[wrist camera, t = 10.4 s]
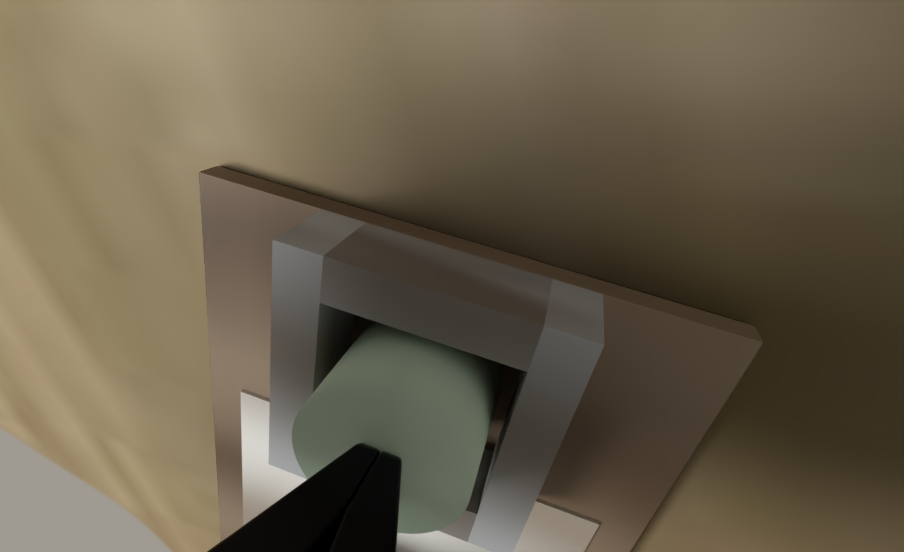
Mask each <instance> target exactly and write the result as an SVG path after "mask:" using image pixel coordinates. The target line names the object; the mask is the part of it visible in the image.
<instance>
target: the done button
mask: <svg viewBox="0 0 904 552" xmlns="http://www.w3.org/2000/svg"><path fill="white" fill-rule="evenodd" d="M500 388H501V375H500V369H499V365H498V362H495V361H492V360H489V359H486V358H483V357H480V356H477V355H474V354H471V353H468V352H465V351H462V350H459V349H456V348H453V347H450V346H447V345H444V344H441V343H438V342H435V341H432V340H429V339H426V338H423V337H420V336H417V335H414V334H411V333H408V332H405V331H402V330H399V329H396V328H393V327H390V326H387V325H384V324H381V323H378V322H375V321H371V322H370V323H369V325H368V326H367V327H366V328H365V329H364V331H363V332H362V333H361V334H360V336H359V337H358V338H357V339H356V341H355V342H354V343H353V344H352V345H351V347H350V348H349V349H348V350H347V352H346V353H345V354H344V355H343V357H342V358H341V359H340V360H339V362H338V363H337V364H336V365H335V367H334V368H333V369H332V370H331V371H330V373H329V374H328V375H327V376H326V378H325V379H324V380H323V381H322V383H321V384H320V385H319V386H318V388H317V389H316V390H315V391H314V393H313V394H312V395H311V396H310V398H309V399H308V400H307V401H306V402H305V404H304V405H303V406H302V407H301V409H300V410H299V412H298V413H297V415H296V417H295V420H294V423H293V427H292V445H293V450H294V454H295V457H296V460H297V462H298V464H299V466H300V468H301V470H302V471H303V473H304V475H305V476H306V478H307V479H309V478H310V477H311V476H313V475H314V474H315V473H317V472H318V471H320V470H321V469H322V468H324V467H325V466H327V465H328V464H329V463H331V462H332V461H333V460H335V459H336V458H338V457H339V456H340V455H342V454H343V453H345V452H346V451H347V450H349V449H350V448H351V447H353V446H354V445H356V444H358V443H363V444H366V445H368V446H371V447H374V448H377V449H378V450H379V452H380V453H381V452H387V453H390V454H393V455H395V456H398V457H400V458H401V459H402V472H401V487H400V502H399V517H398V532H397V533H404V534H422V533H429V532H433V531H437V530H440V529H442V528H444V527H447V526H449V525H450V524H452V523H453V522H455V521H456V520H457V519H458V518H459V517H460V516H461V515H462V514H463V512H464V511H465V510H466V508H467V506H468V504H469V501H470V498H471V494H472V491H473V487H474V484H475V480H476V476H477V473H478V469H479V465H480V462H481V458H482V455H483V451H484V447H485V444H486V440H487V437H488V433H489V429H490V426H491V422H492V418H493V415H494V411H495V408H496V404H497V400H498V397H499V393H500Z"/></svg>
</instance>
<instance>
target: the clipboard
mask: <svg viewBox="0 0 904 552" xmlns="http://www.w3.org/2000/svg"><path fill="white" fill-rule="evenodd" d="M199 181H200V197H201V214H202V231H203V247H204V264H205V281H206V297H207V314H208V331H209V347H210V364H211V381H212V397H213V414H214V431H215V447H216V464H217V481H218V498H219V514H220V531H221V541H223V540H224V539H226V538H227V537H228V536H230V535H231V534H232V533H234V532H235V531H237V530H238V529H239V528H241V527H242V526H244V525H245V524H246V523H248V522H249V521H250V520H252V519H253V518H255V517H256V516H257V515H259V514H260V513H262V512H263V511H264V510H266V509H267V508H268V507H270V506H271V505H273V504H274V503H275V502H277V501H278V500H279V499H281V498H282V497H284V496H285V495H286V494H288V493H289V492H291V491H292V490H293V489H295V488H296V487H297V486H299V485H300V484H302V483H303V482H304V481H306V480H307V478H306V476H305V475H304V473H303V471H302V470H301V468H300V466H299V464H298V462H297V460H296V457H295V454H294V450H293V445H292V427H293V423H294V420H295V417H296V415H297V413H298V412H299V410H300V409H301V407H302V406H303V405H304V404H305V402H306V401H307V400H308V399H309V398H310V396H311V395H312V394H313V393H314V391H315V390H316V389H317V388H318V386H319V385H320V384H321V383H322V381H323V380H324V379H325V378H326V376H327V375H328V374H329V373H330V371H331V370H332V369H333V368H334V367H335V365H336V364H337V363H338V362H339V360H340V359H341V358H342V357H343V355H344V354H345V353H346V352H347V350H348V349H349V348H350V347H351V345H352V344H353V343H354V342H355V341H356V339H357V338H358V337H359V336H360V334H361V333H362V332H363V331H364V329H365V328H366V327H367V326H368V325H369V323H370V322H371V321H375V322H378V323H381V324H384V325H387V326H390V327H393V328H396V329H399V330H402V331H405V332H408V333H411V334H414V335H417V336H420V337H423V338H426V339H429V340H432V341H435V342H438V343H441V344H444V345H447V346H450V347H453V348H456V349H459V350H462V351H465V352H468V353H471V354H474V355H477V356H480V357H483V358H486V359H489V360H492V361H495V362H498V365H499V369H500V375H501V388H500V393H499V397H498V400H497V404H496V408H495V411H494V415H493V418H492V422H491V426H490V429H489V433H488V437H487V440H486V444H485V447H484V451H483V455H482V458H481V462H480V465H479V469H478V473H477V476H476V480H475V484H474V487H473V491H472V494H471V498H470V501H469V504H468V506H467V508H466V510H465V511H464V512H463V514H462V515H461V516H460V517H459V518H458V519H457V520H456V521H455V522H453V523H452V524H450V525H449V526H447V527H444V528H442V529H440V530H437V531H433V532H429V533H422V534H404V533H397V547H396V552H630V551H631V549H632V548H633V546H634V545H635V543H636V541H637V540H638V538H639V537H640V535H641V534H642V532H643V530H644V529H645V527H646V526H647V524H648V523H649V521H650V520H651V518H652V516H653V515H654V513H655V512H656V510H657V509H658V507H659V505H660V504H661V502H662V501H663V499H664V498H665V496H666V495H667V493H668V491H669V490H670V488H671V487H672V485H673V484H674V482H675V480H676V479H677V477H678V476H679V474H680V473H681V471H682V470H683V468H684V466H685V465H686V463H687V462H688V460H689V459H690V457H691V455H692V454H693V452H694V451H695V449H696V448H697V446H698V444H699V443H700V441H701V440H702V438H703V437H704V435H705V434H706V432H707V430H708V429H709V427H710V426H711V424H712V423H713V421H714V419H715V418H716V416H717V415H718V413H719V412H720V410H721V409H722V407H723V405H724V404H725V402H726V401H727V399H728V398H729V396H730V394H731V393H732V391H733V390H734V388H735V387H736V385H737V384H738V382H739V380H740V379H741V377H742V376H743V374H744V373H745V371H746V369H747V368H748V366H749V365H750V363H751V362H752V360H753V358H754V357H755V355H756V354H757V352H758V351H759V349H760V348H761V346H762V344H763V343H764V342H763V341H762V339H761V337H760V335H759V333H758V332H757V330H756V328H755V326H753V325H750V324H746V323H743V322H739V321H736V320H733V319H729V318H726V317H723V316H719V315H716V314H713V313H709V312H706V311H703V310H699V309H696V308H693V307H689V306H686V305H682V304H679V303H676V302H672V301H669V300H666V299H662V298H659V297H656V296H652V295H649V294H646V293H642V292H639V291H636V290H632V289H629V288H625V287H622V286H619V285H615V284H612V283H609V282H605V281H602V280H599V279H595V278H592V277H589V276H585V275H582V274H578V273H575V272H572V271H568V270H565V269H562V268H558V267H555V266H552V265H548V264H545V263H542V262H538V261H535V260H532V259H528V258H525V257H521V256H518V255H515V254H511V253H508V252H505V251H501V250H498V249H495V248H491V247H488V246H485V245H481V244H478V243H475V242H471V241H468V240H464V239H461V238H458V237H454V236H451V235H448V234H444V233H441V232H438V231H434V230H431V229H428V228H424V227H421V226H417V225H414V224H411V223H407V222H404V221H401V220H397V219H394V218H391V217H387V216H384V215H381V214H377V213H374V212H371V211H367V210H364V209H360V208H357V207H354V206H350V205H347V204H344V203H340V202H337V201H334V200H330V199H327V198H324V197H320V196H317V195H314V194H310V193H307V192H303V191H300V190H297V189H293V188H290V187H287V186H283V185H280V184H277V183H273V182H270V181H267V180H263V179H260V178H256V177H253V176H250V175H246V174H243V173H240V172H236V171H233V170H230V169H226V168H223V167H220V166H216V167H213V168H210V169H207V170H204V171H201V172H199Z"/></svg>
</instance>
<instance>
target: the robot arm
mask: <svg viewBox="0 0 904 552" xmlns="http://www.w3.org/2000/svg"><path fill="white" fill-rule="evenodd" d="M401 472H402V459H401V458H400V457H398V456H395V455H393V454H390V453H387V452H381V453H380V452H379V450H378V449H377V448H374V447H371V446H368V445H366V444H363V443H358V444H356V445H354V446H353V447H351V448H350V449H349V450H347V451H346V452H345V453H343V454H342V455H340V456H339V457H338V458H336V459H335V460H333V461H332V462H331V463H329V464H328V465H327V466H325V467H324V468H322V469H321V470H320V471H318V472H317V473H315V474H314V475H313V476H311V477H310V478H309V479H307V480H306V481H304V482H303V483H302V484H300V485H299V486H297V487H296V488H295V489H293V490H292V491H291V492H289V493H288V494H286V495H285V496H284V497H282V498H281V499H279V500H278V501H277V502H275V503H274V504H273V505H271V506H270V507H268V508H267V509H266V510H264V511H263V512H262V513H260V514H259V515H257V516H256V517H255V518H253V519H252V520H250V521H249V522H248V523H246V524H245V525H244V526H242V527H241V528H239V529H238V530H237V531H235V532H234V533H232V534H231V535H230V536H228V537H227V538H226V539H224V540H223V541H221V542H220V543H219V544H217V545H216V546H214V547H213V548H212V549H210V550H209V551H208V552H396V547H397V532H398V517H399V502H400V487H401Z"/></svg>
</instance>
